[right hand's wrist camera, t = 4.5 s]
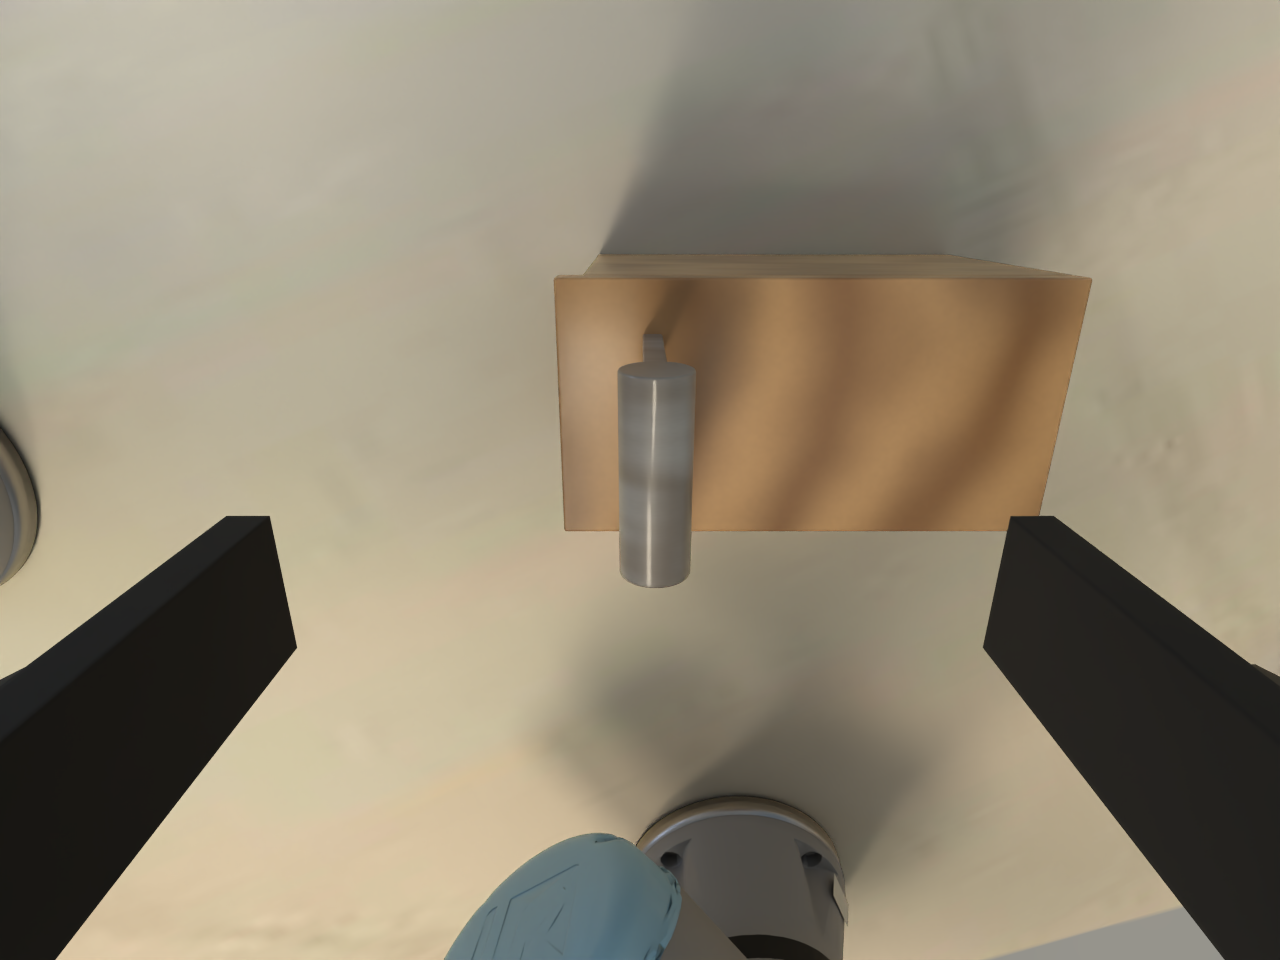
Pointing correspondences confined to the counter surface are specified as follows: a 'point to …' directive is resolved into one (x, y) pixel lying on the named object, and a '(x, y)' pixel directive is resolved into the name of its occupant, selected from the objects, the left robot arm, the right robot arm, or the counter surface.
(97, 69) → the counter surface
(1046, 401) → the lid
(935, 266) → the chest
